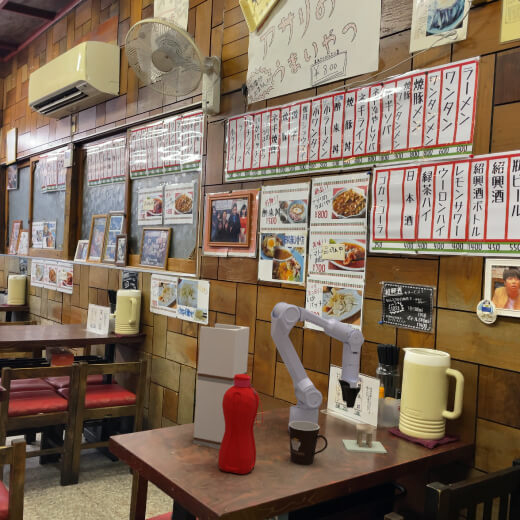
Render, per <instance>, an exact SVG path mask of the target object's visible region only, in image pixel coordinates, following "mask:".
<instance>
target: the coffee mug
mask: <svg viewBox="0 0 520 520" xmlns="http://www.w3.org/2000/svg"><path fill="white" fill-rule="evenodd" d="M288 424H289V429H288V432H289V433H288V434H289V450H290V451H289V454H290V462H291V463H292V464H295V465H298V466H299V465H300V466H311V465H313V464H314V460H315V455H317V454H319V453H322V452H323V451H325V450H326V449H327V447H328V445H329V443H328V439H327V438H326V437H325V436H324V435H322V434H319V431H320V428H321V427H320V425H319V424H318V425H317V424H315V423H312V422H307V421H294V422H291V423H289V422H288ZM318 434H319V435H318ZM320 438H321V439H323V440H324V442H325V445H324V447H323V448H322V449H319V450H318V451H316V449H317V445H318V440H319V439H320Z"/></svg>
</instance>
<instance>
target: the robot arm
mask: <svg viewBox="0 0 520 520" xmlns="http://www.w3.org/2000/svg"><path fill="white" fill-rule="evenodd" d="M270 318H271V321H270V322H271V323H270V324H271V326H270V336H271V339H272V340H273V343H274V345H275V346H276V349H277V351H278V353H279V355H280V357H281V359H282V362H283V364H284V365H285V367H286V371H288V373H289V375H290V378H291V380H292V382H293V383H292V386H293V388H294V396H295V399H296V400H297V402H296V405H290V407H289V418H288V424H287V425H288V426H287V428H288V429H287V430H289V423H291V422H294V421H307V422H312V423H315V424H317V425H319V424H318V423H319V407H321V405H322V402H323V395H322V392H321V391H320V390H318V389H317V388H316V387H315V385H314V383H313V382H312V381H311V379H310V378H309V376H308V374H307V372H306V369H305V368H304V365H303V364H302V361H301V360H300V357H299V356H298V352H297V351H296V349H295V346H294V345H293V343H292V341H291V338H290V337H289V334H290V332H291V330H292V329H293V327H294V326H295V325H296V324H297V323H298V322H304V321H306V322H308V323H310V324H313V325H315V326H318V327H320V328H322V329H323V331H324V334H326V336H329V337H331V338H334V339H336V340H338V341H340V342H341V343H343V345H342V357H341V359H342V360H341V362H342V363H341V374H340V379H338V383H339V386H340V389H341V398H342V402H344V403H345V405H346V408H348V409H349V408H350V409H354V407H355V404H356V400H357V397H358V395H359V394H360V392H361V389H362V388H361V387H359V386H358V382H359V381H363V377H359V374H360V373H359V372H360V358H361V347H362V345H363V344H364V342H365V337H364V335H363V333H362V331H361V330H359V329H356V328H353V327H352V325H350V323H349V324H345V323H343V322H342V321H341V319H340V318H336V317H335V318H333V317H332V318H329V319H326V318H324V317H323V316H321V315H319V314H317V313H315V312H313V311H311V310H309V309H307V308H305V307H300V306H297V305H295V304H289V303H287V302H284V301H280V302H278V303H276V304H275V305H274V307H273V308H272V311H271V313H270ZM318 435H320V434H319V433H318Z"/></svg>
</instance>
